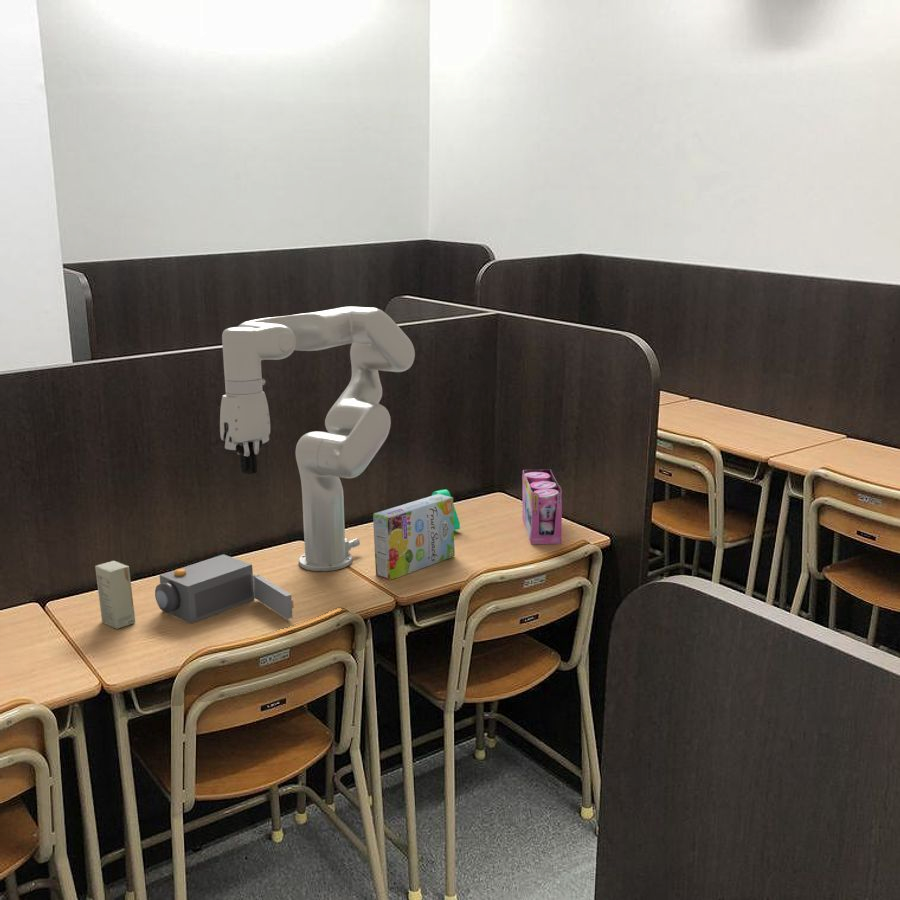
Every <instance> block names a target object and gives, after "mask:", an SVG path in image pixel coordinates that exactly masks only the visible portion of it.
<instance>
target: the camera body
mask: <svg viewBox="0 0 900 900" xmlns="http://www.w3.org/2000/svg"><path fill="white" fill-rule="evenodd" d="M253 573H254V572H253V564H251V563H250V562H246V561H243V560H240V559H238V558H235V557H232V556H229V555H227V554H224V553H223V554H220V555H217V556H214V557H211V558H208V559H205V560H201V561H199V562H196V563H193V564H190V565H187V566H184V567H180V568H177V569H175V570H174V569H173V570H171V571H167V572H165V573H161V574H159V584H157V585H156V587H155V590H154V595H155V596H154V597H155V601H156V603H157V606H158V607H159V609H160V610H161V611H162V612H164V613H165V614H168V615H171V616H173V617H175V618H177V619H180V620H181V621H184V622H186V623H188V624H193V623H196V622H199V621H202V620H204V619H207V618H209V617H212V616H215V615H217V614H220V613H223V612H225V611H228V610H231V609H233V608H236V607H238V606H241V605H244V604H248V603H250V602H251V601H255V598H254V585H253V575H254V574H253Z"/></svg>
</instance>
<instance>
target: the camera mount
mask: <svg viewBox="0 0 900 900" xmlns="http://www.w3.org/2000/svg"><path fill="white" fill-rule="evenodd" d="M436 494H441V495H445V496H449V497H452V495H451V493H450V491H449V490H448V489H447V488H446V489H439V490H435V491H433V492H432V493H431V496H433V495H436ZM453 514H454V531H457V530H460V529H461V523H460V520H459V517H458V513H457V511H456V508H455V505H454V503H453Z"/></svg>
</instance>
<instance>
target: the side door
mask: <svg viewBox="0 0 900 900" xmlns="http://www.w3.org/2000/svg"><path fill="white" fill-rule="evenodd" d="M253 586H254V600H257V601H259V602H260V603H261V604H263V605H265V607H266V606H267V607H268V608H269V609H271V610H272V611H274V612H275V613H277V614H278V615H280V616H282V617H283V618H285V619H286V620H290V619H293V608H295V607H294V600H293V599H292V594H291V593H289V592H288V591H286V590H285V589H282V587H280V586H278V585H276V584H275V583H273V582H271V581H270V580H268V579H266V578H265V577H263V576H261V575H260V574H258V573H257V574H253Z"/></svg>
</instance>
